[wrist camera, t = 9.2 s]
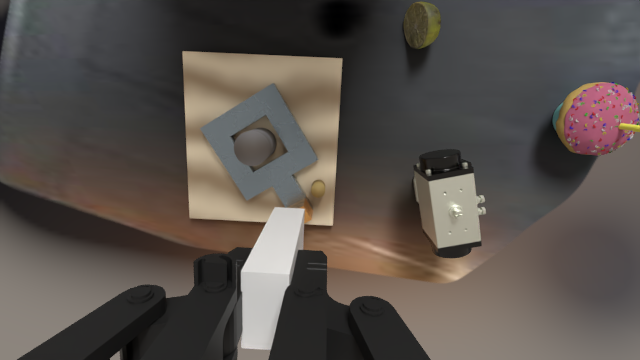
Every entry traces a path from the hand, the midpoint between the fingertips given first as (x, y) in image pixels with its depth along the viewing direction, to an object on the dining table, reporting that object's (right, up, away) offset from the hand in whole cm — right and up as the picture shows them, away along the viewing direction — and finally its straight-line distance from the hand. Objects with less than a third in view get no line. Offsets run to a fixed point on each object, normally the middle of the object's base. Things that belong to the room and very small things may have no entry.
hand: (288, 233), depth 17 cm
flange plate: (-5, +5, +28) cm, 29 cm away
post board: (-6, +8, +29) cm, 30 cm away
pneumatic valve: (+17, +2, +29) cm, 34 cm away
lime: (+14, +22, +25) cm, 36 cm away
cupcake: (+34, +11, +27) cm, 45 cm away
